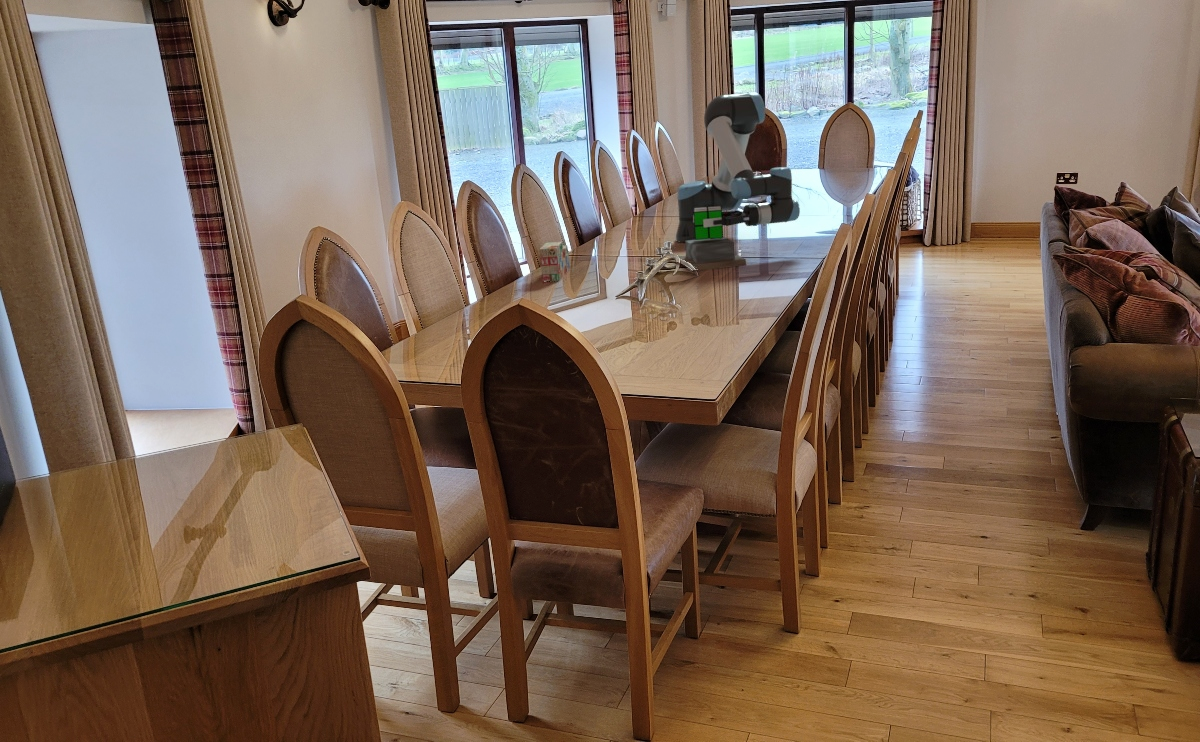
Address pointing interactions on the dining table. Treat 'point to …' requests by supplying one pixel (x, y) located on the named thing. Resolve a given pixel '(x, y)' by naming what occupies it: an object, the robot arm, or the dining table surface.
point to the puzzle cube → (699, 227)
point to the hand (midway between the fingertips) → (698, 221)
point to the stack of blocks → (554, 261)
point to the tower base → (716, 263)
